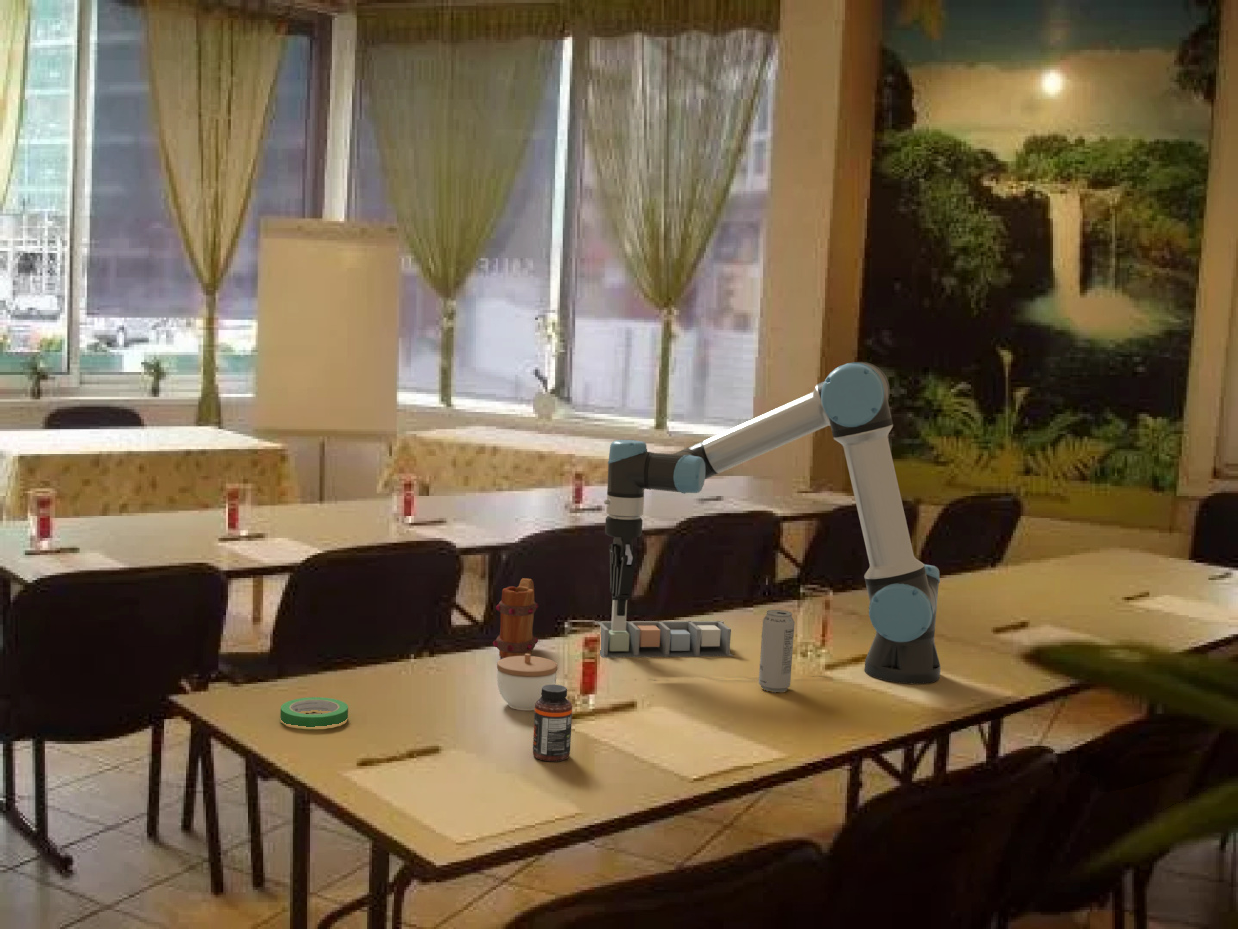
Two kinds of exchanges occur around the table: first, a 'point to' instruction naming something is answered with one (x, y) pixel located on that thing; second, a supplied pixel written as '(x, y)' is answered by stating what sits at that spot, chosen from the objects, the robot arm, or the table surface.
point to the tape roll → (311, 720)
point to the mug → (516, 620)
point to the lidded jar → (524, 679)
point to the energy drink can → (776, 650)
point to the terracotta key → (649, 636)
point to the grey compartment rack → (667, 640)
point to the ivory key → (709, 635)
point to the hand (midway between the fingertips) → (618, 630)
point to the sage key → (618, 641)
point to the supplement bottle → (552, 724)
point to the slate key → (679, 640)
